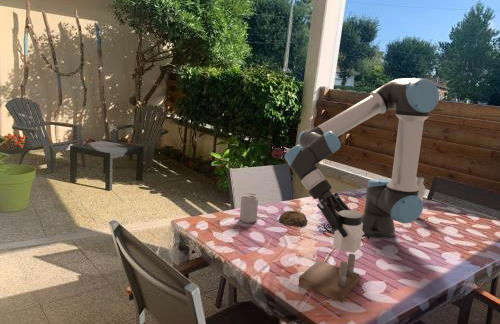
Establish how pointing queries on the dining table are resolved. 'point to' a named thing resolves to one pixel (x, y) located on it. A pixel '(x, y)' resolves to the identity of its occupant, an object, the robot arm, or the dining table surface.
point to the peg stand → (331, 279)
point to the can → (249, 208)
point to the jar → (354, 226)
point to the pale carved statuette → (420, 188)
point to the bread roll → (293, 218)
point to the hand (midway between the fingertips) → (357, 239)
